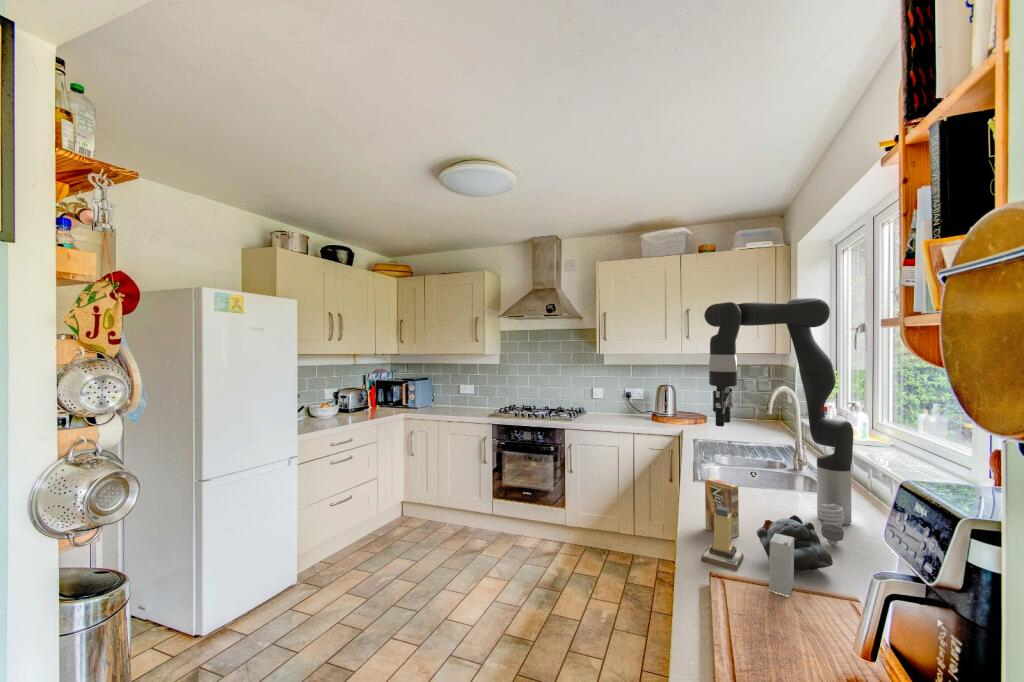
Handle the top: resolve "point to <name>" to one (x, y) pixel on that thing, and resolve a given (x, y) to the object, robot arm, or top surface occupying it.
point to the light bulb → (832, 523)
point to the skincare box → (781, 564)
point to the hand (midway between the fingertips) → (723, 424)
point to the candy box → (721, 503)
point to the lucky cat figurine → (797, 542)
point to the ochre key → (724, 549)
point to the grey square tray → (723, 558)
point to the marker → (722, 528)
